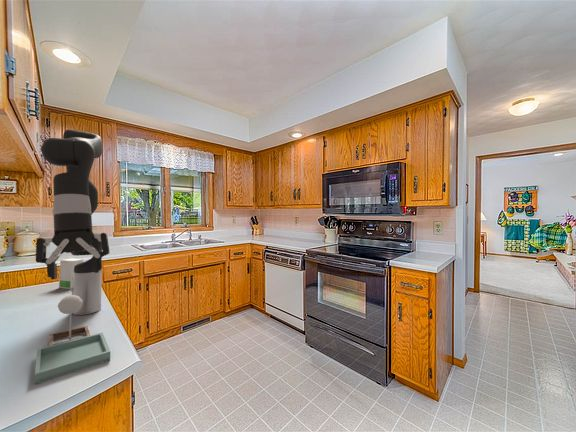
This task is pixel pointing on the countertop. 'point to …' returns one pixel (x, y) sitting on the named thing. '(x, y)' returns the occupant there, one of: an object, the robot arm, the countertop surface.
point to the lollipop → (70, 307)
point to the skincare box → (67, 272)
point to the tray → (70, 357)
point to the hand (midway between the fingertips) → (76, 275)
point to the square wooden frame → (66, 334)
